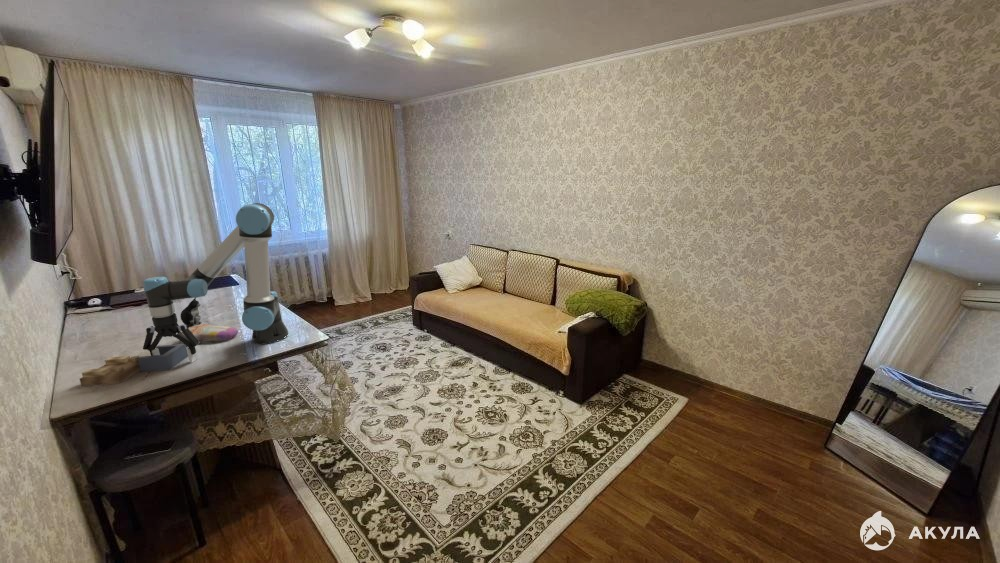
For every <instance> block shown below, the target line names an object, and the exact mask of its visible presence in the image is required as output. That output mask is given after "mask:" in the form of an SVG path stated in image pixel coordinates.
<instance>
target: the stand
mask: <svg viewBox="0 0 1000 563" xmlns="http://www.w3.org/2000/svg"><path fill="white" fill-rule="evenodd" d="M139 357H140V356H139V355H137V356H130V355H125V356H124V355H123V356H122V355H121V356H110V357H108V358H107V359H105V360H104V362H105V364H104V365H102V366H100V367H99V368H88V369H87V370H83V371H82V372H81V376H82V377H80V378H79V382H80V385H81V386H82V387H87V386H99V385H101V386H102V385H110V384H122V383H123V382H124V381H126V380H128V379H129V378H131V377H132V376H134V375H135V374H137V373H138V372H141V369H140V366H139V362H138V359H137V358H139Z"/></svg>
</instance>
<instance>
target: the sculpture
mask: <svg viewBox="0 0 1000 563" xmlns="http://www.w3.org/2000/svg"><path fill="white" fill-rule="evenodd" d="M188 329H189V330H190V331H191V332H192V334H193V335H194V336H195V337H196V339H197V340H198V341H199V342H203V341H207V342H208V341H209V342H212V341H213V342H217V341H226V340H230V339H232V338H234V337H235V336H237V335H238V331H239V330H238V329H237V328H235V327H232V326H227V325H217V326H216V325H212V324H209V323H204V324H202V323H201V324H199V325H196V326H192V327H189V328H188ZM182 334H183V333H182ZM183 335H184V334H183ZM184 336H185V335H184ZM177 340H179V339H177ZM179 341H180V340H179Z"/></svg>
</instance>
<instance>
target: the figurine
mask: <svg viewBox="0 0 1000 563" xmlns="http://www.w3.org/2000/svg"><path fill="white" fill-rule="evenodd" d="M201 305H202V304H201V303H200V301H198V300H197V298H192V300H191V301H189V303H188V305H187V306H186V307H184V308H183V309H182V310H181V312H180V320H181V322H182V323H183V325H184V324H187V326H188V328H189V327H192V326H196V325H201V324H202V320H201V315H200V311H199V307H201Z"/></svg>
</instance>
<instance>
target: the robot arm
mask: <svg viewBox="0 0 1000 563" xmlns="http://www.w3.org/2000/svg"><path fill="white" fill-rule="evenodd" d="M274 221H275V215H274V212H273V211H272V209H271V208H270V207H269V206H268V205H266V204H264V203H260V202H258V203H257V202H254V203H249V204H246V205H244V206H242V207H241V208H240V209H239V210H238V211H237V213H236V215H235V223H236V227H235V228H234V229H233V230H232V231H231V232H230V233H229V234H228V236H226V237H225V238H224V239H223V240H222V242H220V244H219V245H218V246H217V247H215V249H214V250H213V251H212V252H211V253H210V254H209V255H208V256H207V257H206V258H205V260H203V262H202V263H200V265H199V266H198V267H197V268H196V269H195V270H193V272H192V273H191V274H190V275H189V276H188V277H186V278H184V279H183V280H173V281H172V280H171V281H169V280H168V278H167V277H166V276H155V277H154V276H153V277H149V278H145V279H144V280H143V281H142V285H143V286H142V287H143V293H144V295H145V298H146V302H147V306H148V310H149V312H150V313H149V314H150V316H151V321H152V324H153V326H152V325H151V326H149V327H147V328H146V329H145V331H146V334H145V335H146V336H145V340H144V343H143V346H142V350H144V351H146V350H147V351H148V352H149V353H150V356H154V355H160V353H159V349H158V348H156V347H157V346H159V343H160V342H161V340H162V339H163V338H167V337H171V338H172V337H173V338H176V339H177V340H178V339H179V341H180V342H181V344H185V345H186V349H187V353H188V359H189V364H192V363H194V362H195V361H196V360H197V357H196V354H197V350H196V346H198V345H199V344H200V342H201V341H198V340H197V339H196V337H195V336H194V335H193V334H192V332H191V331H190V330H189V329H188V326H187V324H184V323H183V324H181V325H179V324H178V316H177V313H175V312H176V309H175V305H174V301H173V300H183V299H184V300H185V299H194V298H196V299H197V298H202V297H205V296H207V294H208V287H209V286H210V285H211V283H212V282H213V281H215V280H214V279H215V278H216V277H217V276H218V275H220V273H221V272H222V271H223V270H224V269H225V268H226V267H227V266H228V265H229V263H231V262H232V261H233V259H234V258H236V256H238V254H239V253H240V252H241V251H242V250H243V249H244V263H245V279H246V282H245V283H246V294H247V295H246V296H245V297H244V298H242V300H243V301H242V303H243V312H242V315H241V322H242V324H243V325H244V326H245V327H246V328H247V329H250V330H251V331H252V335H251V339H252V343H254V344H256V343H257V344H258V345H263V344H262V343H267V344H271V343H270V342H273V343H275V342H274V341H277V340H280V339H282V338H284V337H285V336H287V335H288V334H289V331H288V327H287V326H286V325H285V323H284V321H283V319H282V312H281V307H280V302H279V295H278V293H277V292H276V291H275V290H274V291H273V290H271V280H270V279H271V278H270V277H271V275H270V274H271V273H270V257H269V255H270V254H269V253H270V252H269V240H270V239H272V237H273V232H272V231H273V230H272V228H273V227H272V225H273V223H274ZM155 332H156V333H157V334H156V335H155ZM182 333H183V334H184V335H185V336H184V335H183V334H182ZM154 335H155V337H154ZM288 336H289V335H288ZM288 336H287V337H288ZM153 338H154V340H153ZM284 339H285V338H284ZM282 340H283V339H282ZM280 341H281V340H280ZM277 342H278V341H277Z"/></svg>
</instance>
